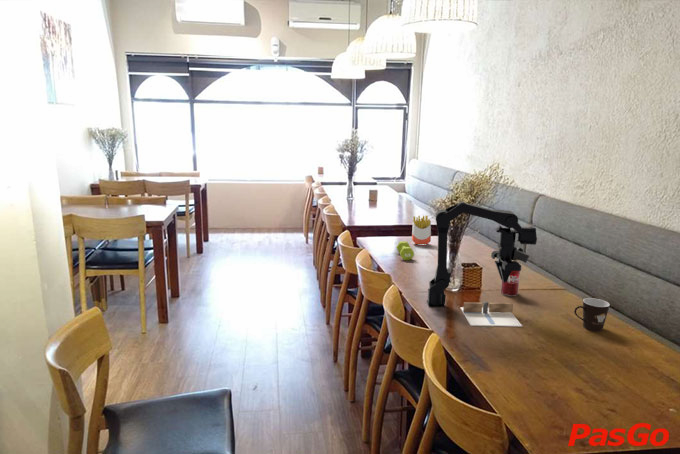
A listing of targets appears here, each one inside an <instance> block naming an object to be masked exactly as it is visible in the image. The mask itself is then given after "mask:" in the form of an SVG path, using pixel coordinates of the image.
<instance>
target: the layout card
mask: <svg viewBox="0 0 680 454" xmlns="http://www.w3.org/2000/svg"><path fill="white" fill-rule="evenodd" d="M459 308H460V310H461V312H462V313H463V315H464V317H465V319H466V320H467V322H468V324H469V326H471V327H511V328H512V327H515V328H516V327H517V328H518V327H520V328H522V327H523V324H521V323H520V321H519V320H518V319H517V318H516V316H515V315H514V314H513V312H512V313H490V312H489V307H488V313H487V314H484V313H483V307H482V312H464V311H463V309H464V306H462V307H459Z"/></svg>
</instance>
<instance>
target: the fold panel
mask: <svg viewBox="0 0 680 454" xmlns="http://www.w3.org/2000/svg"><path fill="white" fill-rule="evenodd" d="M488 308H489V312H490V313H512V314H513V309H514V303H513V302H488Z"/></svg>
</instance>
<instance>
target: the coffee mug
mask: <svg viewBox="0 0 680 454" xmlns="http://www.w3.org/2000/svg"><path fill="white" fill-rule="evenodd" d="M610 305H611V304H610V303H609V302H608V301H606V300H604V299H601V298H600V299H599V298H595V297H593V298H592V297H588V298H587V297H586V298H583V300H582V305H580V306H579V305H578V306H576V307H575V308H574V311H573V312H574V313H573V314H574V316H576V317H577V318H578V319H580V320H581V321H582V326H583V329H586V330H588V331H590V332H594V333H596V332H597V333H600V332H602V331H603V329H604V326H605V323H606V320H607V316H608V312H609V309H610ZM580 308H581V309H582V317H580V316H579V315H578V314H577V311H578V309H580Z"/></svg>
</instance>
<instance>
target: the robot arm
mask: <svg viewBox="0 0 680 454" xmlns="http://www.w3.org/2000/svg"><path fill="white" fill-rule="evenodd" d="M462 214H468V215H470V216H475V217H479V218H482V219H485V220H486V219H487V220H489V221H493V222H495V223H497V224H499V226H498V227H496V228H495V232H496V233H500V234H499V243H497V248H498V250H493V251H492V252H491V255H490V257H491V259H492V260H494V264H495V266H496V270H497V272H498V274H499V277H500V279H501V281H502V280H503V282H507V280H508V278H509V275H510V273H511V271H520V272H521V271H522V265H521V264H520V262H518V261H517V260H519V261H521V262H522V263H525V264H527V261H528V260H529V257H530V255H529V254H528V253H527V252H525V251H524V250H523V249H524V248H522V247H521V246H518V247H516V242H518V244H519V245H529V246H533V245H534V246H535V245H537V242H538V240H537V239H538V238H537V228H536V227H534V226H530V227H524V226H521V224H520V223H519V218H518V216H517V214H515V213H514V212H513V211H512V210H506V209H505V210H501V209H497V210H496V209H491V208H487V207H484V206H480V205H477V204H472V203H468V202H465V201H459V202H458V203H456V204H454V205H451V206H449V207H447V208H445V209H443V208H442V209H439V210H437V211H436V213H435V223H436V228H437V265H436V269H435V273H434V274H435V275H434V277H433V278H432V279H431V280H430V281H429V282H428V283H429V284H428V285H429V287H428V289H427V299H426V303H427V305H428V307H429V308H445V306H446V305H445V304H446V296H447V295H446V293H445V290H446V289H448V287H450V284H451V283H452V281H451V280H452V279H451V276H452V271H451V268H447V267H448V265H447V264H448V233H449V230H450V225H451V221H453V220H454V219H456V218H458V217H459V216H460V215H462Z"/></svg>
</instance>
